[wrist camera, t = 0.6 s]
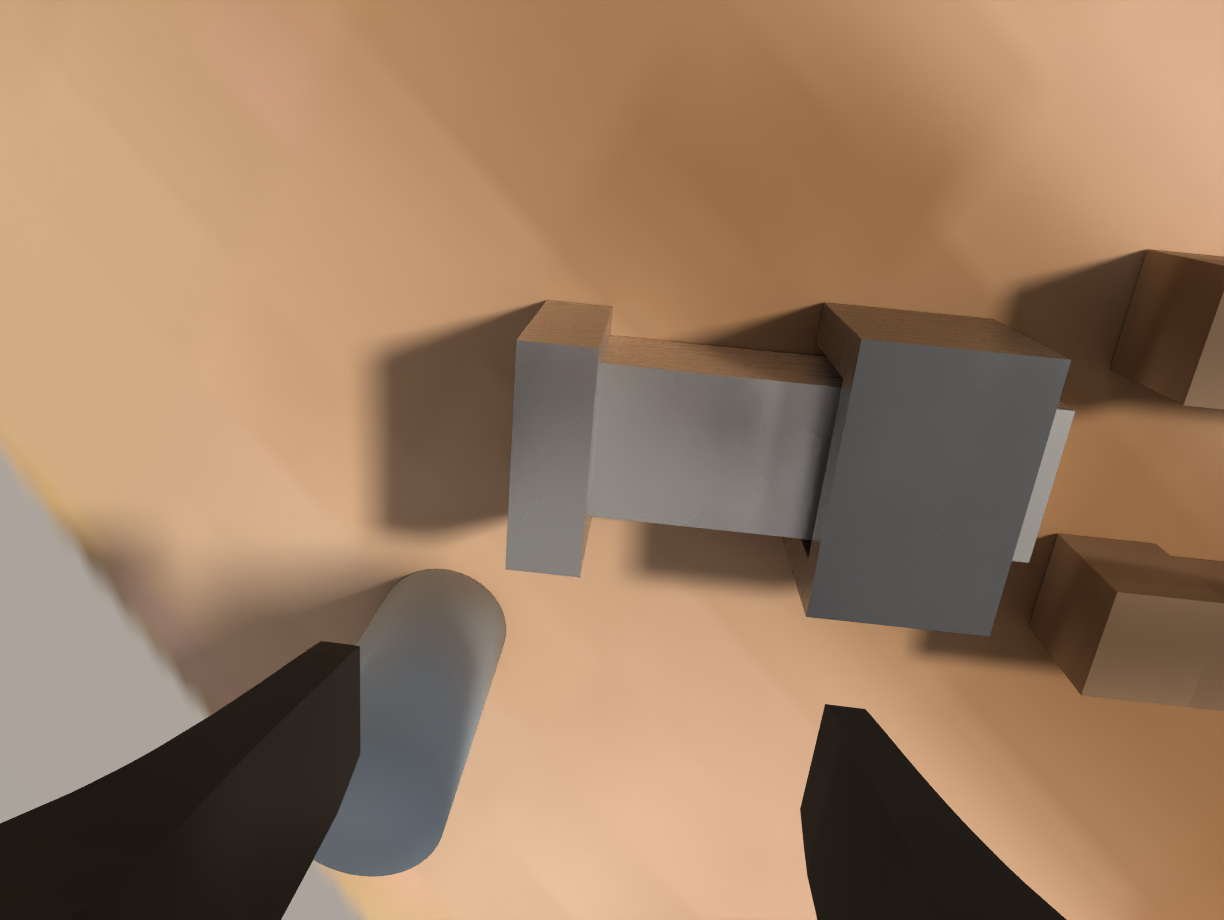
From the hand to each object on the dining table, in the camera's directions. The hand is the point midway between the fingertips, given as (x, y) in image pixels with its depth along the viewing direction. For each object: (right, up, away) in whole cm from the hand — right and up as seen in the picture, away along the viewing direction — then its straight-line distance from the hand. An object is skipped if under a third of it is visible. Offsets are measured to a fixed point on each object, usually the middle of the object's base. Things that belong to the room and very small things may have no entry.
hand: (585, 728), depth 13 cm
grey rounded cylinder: (-4, -1, +11) cm, 12 cm away
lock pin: (+5, +5, +8) cm, 11 cm away
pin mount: (+7, +5, +8) cm, 12 cm away
